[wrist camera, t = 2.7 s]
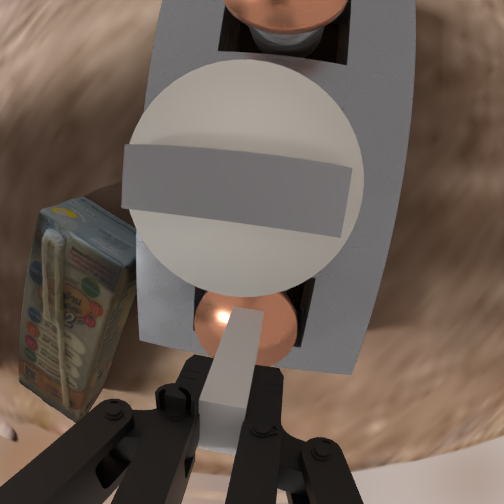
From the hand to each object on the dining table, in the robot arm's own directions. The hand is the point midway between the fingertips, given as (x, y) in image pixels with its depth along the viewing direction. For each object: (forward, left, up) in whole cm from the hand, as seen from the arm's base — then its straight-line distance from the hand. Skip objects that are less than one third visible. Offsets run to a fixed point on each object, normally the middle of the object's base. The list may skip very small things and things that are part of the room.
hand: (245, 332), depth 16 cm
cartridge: (0, +8, -8) cm, 11 cm away
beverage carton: (-15, -6, -8) cm, 18 cm away
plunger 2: (0, 0, -7) cm, 7 cm away
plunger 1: (0, +16, -5) cm, 17 cm away
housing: (0, +8, -8) cm, 11 cm away
